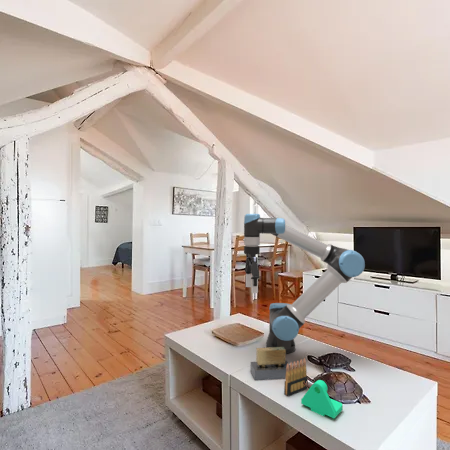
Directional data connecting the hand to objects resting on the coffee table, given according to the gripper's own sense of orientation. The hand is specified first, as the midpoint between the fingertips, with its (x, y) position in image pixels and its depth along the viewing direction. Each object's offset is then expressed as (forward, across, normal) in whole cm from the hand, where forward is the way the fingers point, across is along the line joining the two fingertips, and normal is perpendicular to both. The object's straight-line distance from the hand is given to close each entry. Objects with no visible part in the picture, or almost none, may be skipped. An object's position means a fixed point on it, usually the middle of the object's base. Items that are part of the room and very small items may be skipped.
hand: (251, 289), depth 147 cm
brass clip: (+33, +17, +5) cm, 37 cm away
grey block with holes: (+33, +17, +5) cm, 37 cm away
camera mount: (+33, +42, +16) cm, 56 cm away
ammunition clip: (+33, +31, +11) cm, 47 cm away
